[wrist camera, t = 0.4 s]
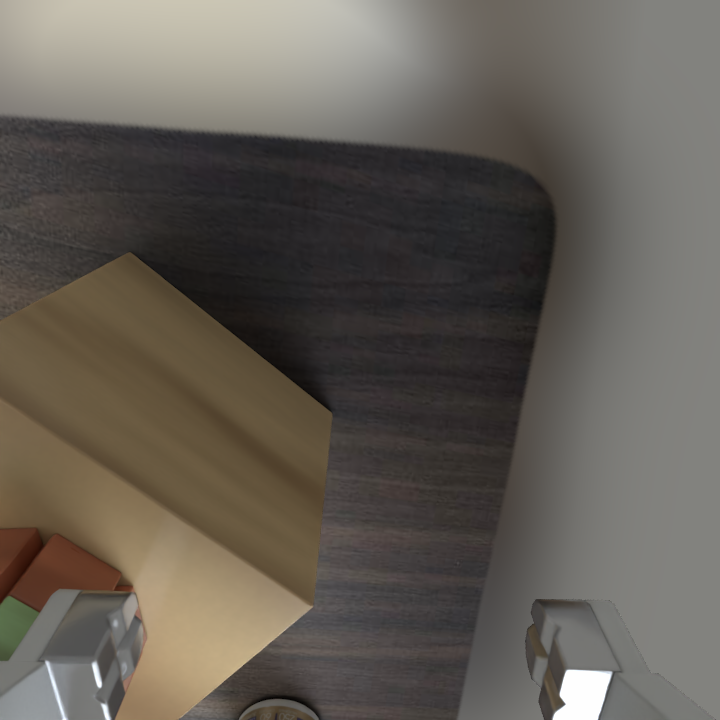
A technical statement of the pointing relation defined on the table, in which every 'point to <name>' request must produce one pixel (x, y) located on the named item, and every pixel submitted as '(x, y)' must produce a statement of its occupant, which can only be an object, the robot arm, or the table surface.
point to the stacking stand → (165, 470)
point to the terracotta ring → (52, 571)
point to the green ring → (14, 625)
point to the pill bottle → (278, 711)
